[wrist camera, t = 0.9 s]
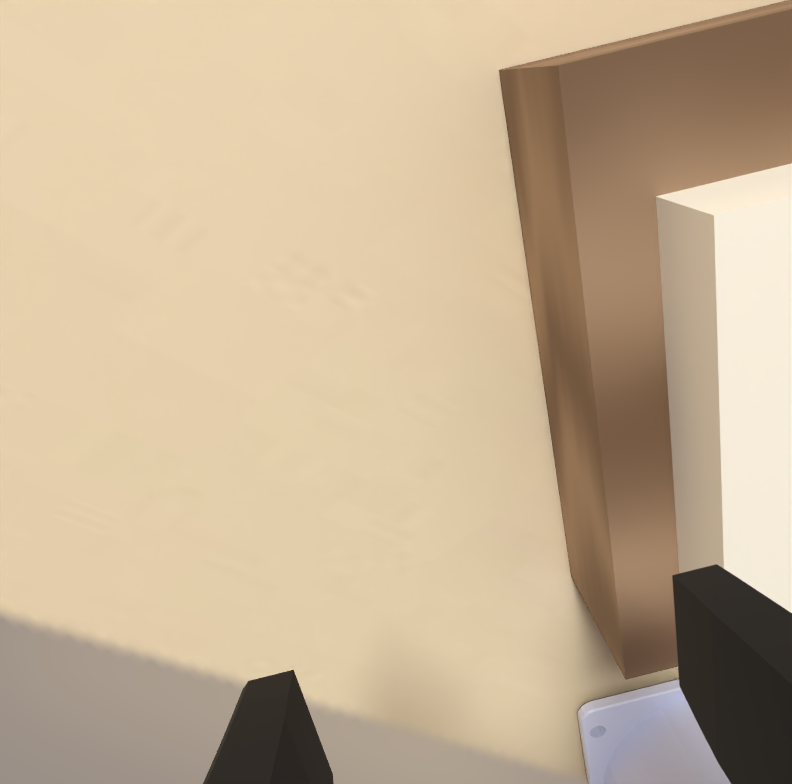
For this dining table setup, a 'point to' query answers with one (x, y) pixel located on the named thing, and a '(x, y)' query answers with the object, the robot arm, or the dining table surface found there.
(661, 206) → the block
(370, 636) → the dining table surface
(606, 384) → the brown wooden block
